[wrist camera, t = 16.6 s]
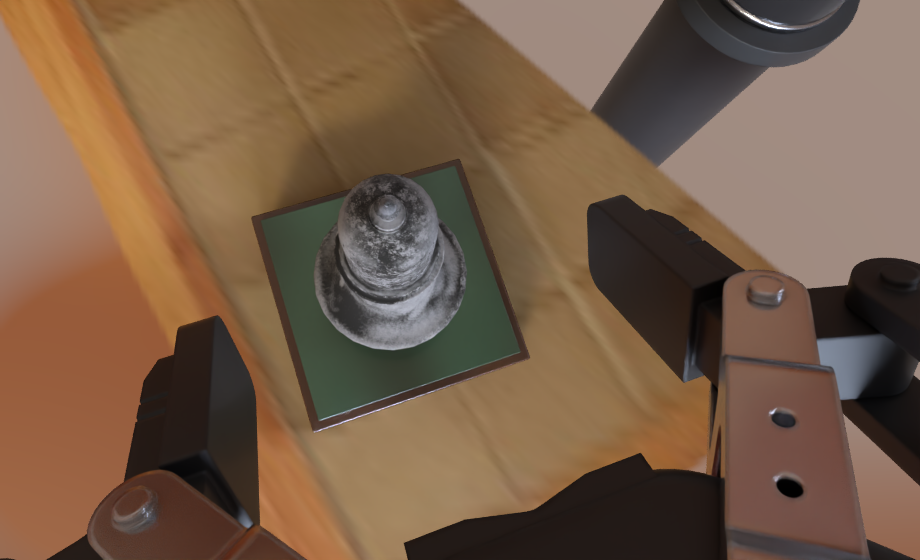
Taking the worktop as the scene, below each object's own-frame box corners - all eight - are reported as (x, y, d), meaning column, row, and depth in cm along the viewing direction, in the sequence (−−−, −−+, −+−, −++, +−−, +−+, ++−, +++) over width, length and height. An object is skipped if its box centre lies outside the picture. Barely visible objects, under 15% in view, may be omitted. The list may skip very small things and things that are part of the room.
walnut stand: (453, 183, 32) (460, 155, 28) (516, 362, 30) (532, 357, 26) (266, 236, 30) (248, 214, 26) (322, 429, 28) (311, 433, 25)
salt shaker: (470, 243, 27) (524, 124, 15) (442, 369, 26) (478, 345, 14) (343, 213, 27) (301, 68, 15) (309, 339, 25) (233, 289, 14)
